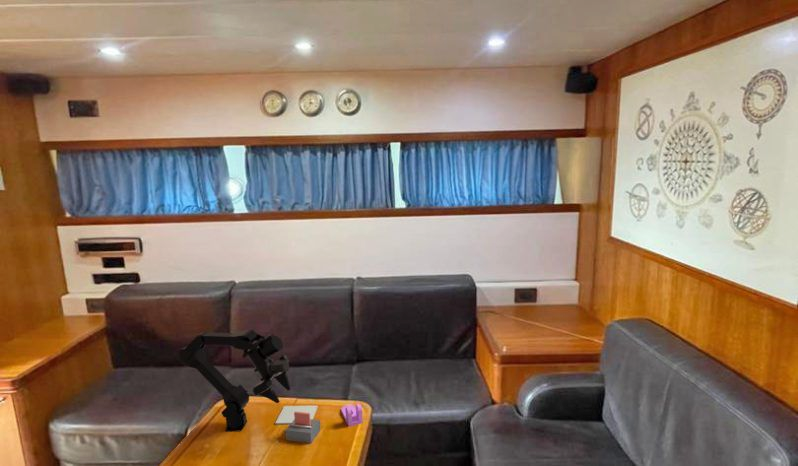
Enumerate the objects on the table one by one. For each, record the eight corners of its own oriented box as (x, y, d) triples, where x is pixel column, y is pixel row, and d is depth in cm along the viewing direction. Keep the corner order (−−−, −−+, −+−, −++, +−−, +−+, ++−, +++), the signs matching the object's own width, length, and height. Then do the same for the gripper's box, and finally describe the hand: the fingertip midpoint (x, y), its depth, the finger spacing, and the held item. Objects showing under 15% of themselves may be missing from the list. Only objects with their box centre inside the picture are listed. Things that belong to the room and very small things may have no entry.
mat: (275, 424, 174) (275, 422, 173) (284, 407, 185) (284, 406, 185) (310, 423, 173) (310, 422, 173) (317, 406, 185) (317, 405, 185)
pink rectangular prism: (295, 434, 166) (294, 412, 165) (296, 433, 167) (295, 411, 166) (310, 436, 165) (308, 414, 163) (311, 435, 166) (309, 413, 164)
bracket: (362, 423, 172) (361, 406, 171) (348, 427, 170) (347, 410, 169) (353, 406, 184) (352, 391, 183) (339, 410, 182) (338, 394, 181)
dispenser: (286, 439, 163) (285, 428, 163) (296, 427, 171) (295, 415, 170) (311, 443, 161) (310, 431, 160) (320, 430, 169) (319, 418, 168)
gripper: (265, 363, 155) (289, 400, 156) (288, 341, 173) (310, 375, 174) (241, 376, 158) (266, 413, 159) (266, 354, 176) (288, 387, 177)
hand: (284, 396), depth 167 cm, fingers open, 9 cm apart
